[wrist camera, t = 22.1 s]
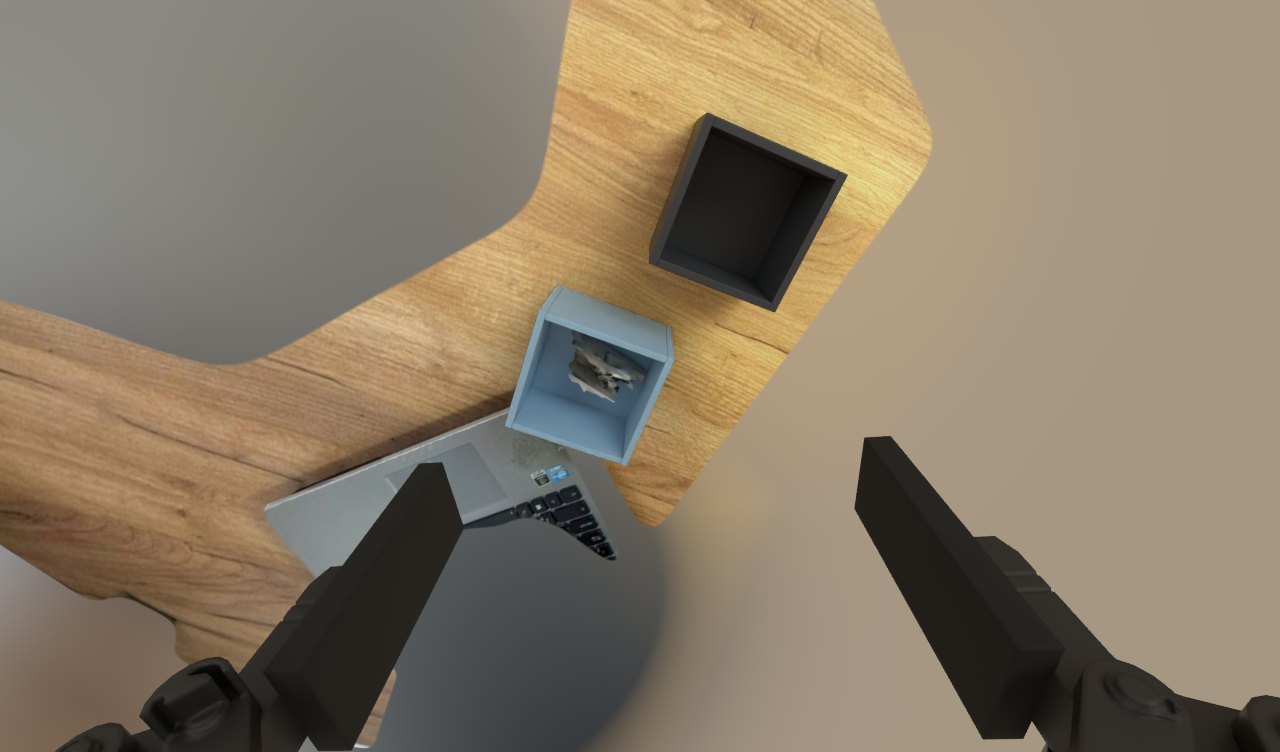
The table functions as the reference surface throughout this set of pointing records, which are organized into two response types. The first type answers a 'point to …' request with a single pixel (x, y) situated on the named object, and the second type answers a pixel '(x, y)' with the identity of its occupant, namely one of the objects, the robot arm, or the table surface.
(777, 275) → the waste bin
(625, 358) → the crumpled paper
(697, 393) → the table surface
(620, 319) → the paper bin
